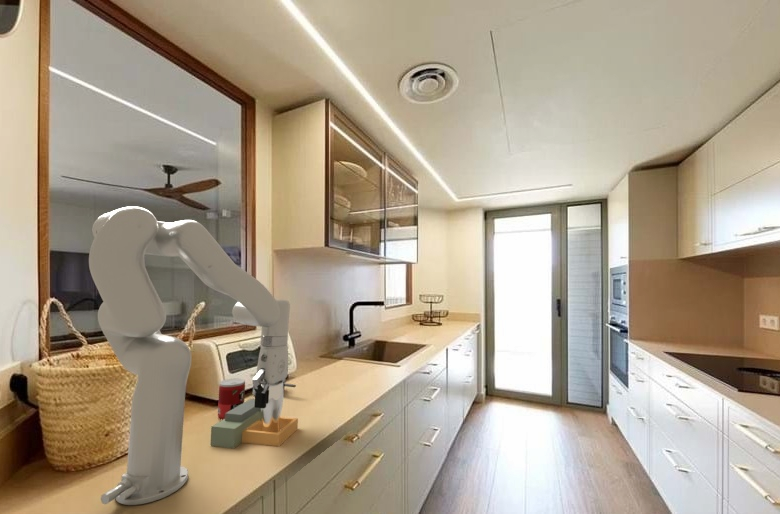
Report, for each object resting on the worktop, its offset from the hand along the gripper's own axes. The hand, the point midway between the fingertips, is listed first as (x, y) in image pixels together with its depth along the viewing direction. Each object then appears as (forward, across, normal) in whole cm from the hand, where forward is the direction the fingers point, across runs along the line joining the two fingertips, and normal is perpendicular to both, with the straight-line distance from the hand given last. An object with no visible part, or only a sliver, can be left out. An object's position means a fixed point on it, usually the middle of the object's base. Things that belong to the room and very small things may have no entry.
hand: (269, 402), depth 94 cm
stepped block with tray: (+10, +2, +3) cm, 10 cm away
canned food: (+10, +11, +20) cm, 25 cm away
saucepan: (+9, +32, +16) cm, 37 cm away
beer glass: (+10, +1, 0) cm, 10 cm away
